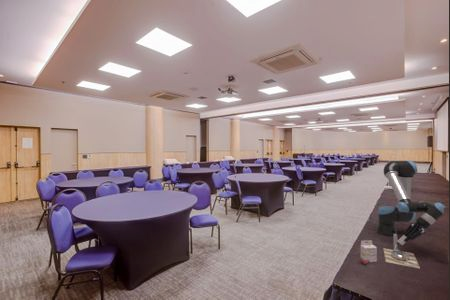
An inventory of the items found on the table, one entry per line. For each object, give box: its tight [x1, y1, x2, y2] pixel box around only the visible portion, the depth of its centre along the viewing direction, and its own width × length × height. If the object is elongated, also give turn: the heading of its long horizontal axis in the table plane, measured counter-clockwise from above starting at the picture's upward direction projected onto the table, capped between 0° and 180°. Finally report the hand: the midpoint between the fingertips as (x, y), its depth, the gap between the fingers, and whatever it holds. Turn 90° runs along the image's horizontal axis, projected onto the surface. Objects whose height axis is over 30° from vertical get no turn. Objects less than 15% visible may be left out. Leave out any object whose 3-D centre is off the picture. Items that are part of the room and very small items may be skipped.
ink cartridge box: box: [360, 239, 378, 265], centre depth 159 cm, size 9×5×15 cm, turn 92°
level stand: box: [383, 247, 421, 269], centre depth 161 cm, size 22×18×2 cm
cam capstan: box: [391, 233, 409, 260], centre depth 161 cm, size 17×10×13 cm, turn 165°
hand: (399, 243), depth 166 cm, fingers closed
